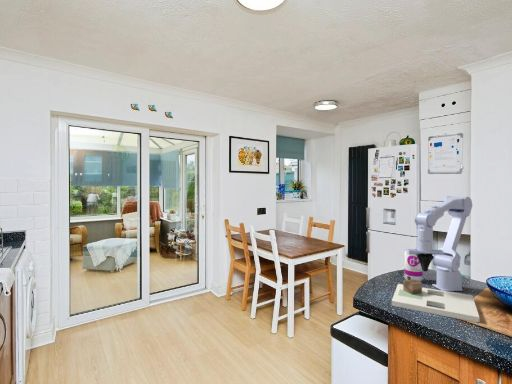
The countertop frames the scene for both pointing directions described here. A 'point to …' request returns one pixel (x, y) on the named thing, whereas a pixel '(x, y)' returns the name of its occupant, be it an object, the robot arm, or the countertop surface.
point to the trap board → (437, 303)
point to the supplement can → (412, 267)
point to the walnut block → (412, 286)
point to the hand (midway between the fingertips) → (424, 270)
